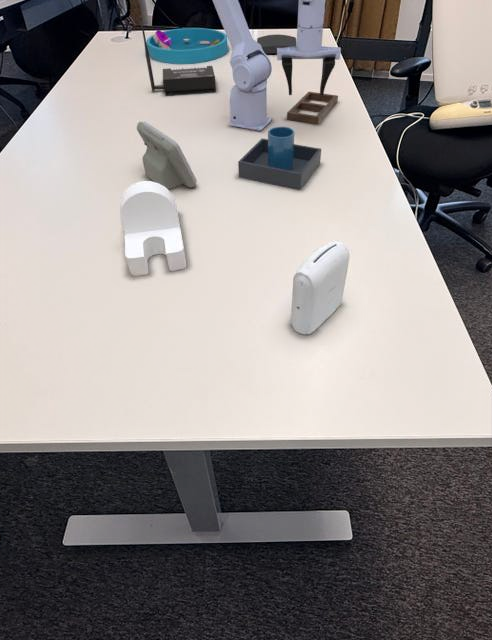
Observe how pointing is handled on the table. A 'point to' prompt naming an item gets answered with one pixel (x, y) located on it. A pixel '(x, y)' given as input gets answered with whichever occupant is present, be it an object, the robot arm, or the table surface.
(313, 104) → the rack
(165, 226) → the bracket
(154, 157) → the digital clock
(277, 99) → the table surface
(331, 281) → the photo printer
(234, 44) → the robot arm
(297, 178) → the dark grey tray
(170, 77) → the wireless controller
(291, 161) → the cup
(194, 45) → the teal round tray
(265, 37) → the media streaming box
